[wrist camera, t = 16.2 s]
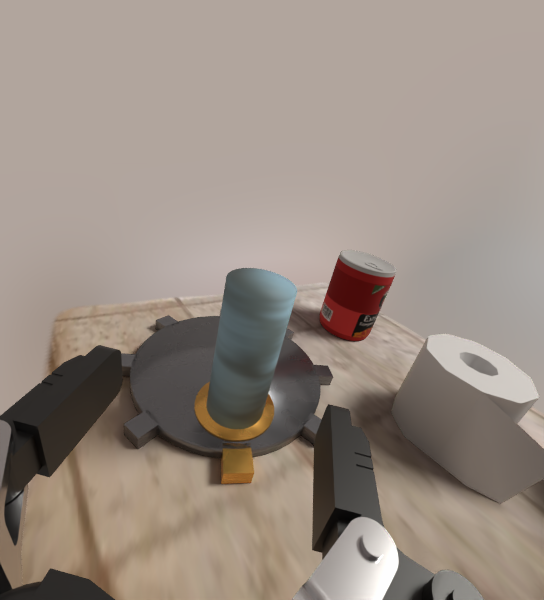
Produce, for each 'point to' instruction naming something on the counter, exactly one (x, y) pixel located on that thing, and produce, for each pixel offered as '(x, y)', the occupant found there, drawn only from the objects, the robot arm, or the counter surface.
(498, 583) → the counter surface
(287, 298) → the pin
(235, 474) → the sprocket plate
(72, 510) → the counter surface
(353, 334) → the canned food
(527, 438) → the toilet tissue
